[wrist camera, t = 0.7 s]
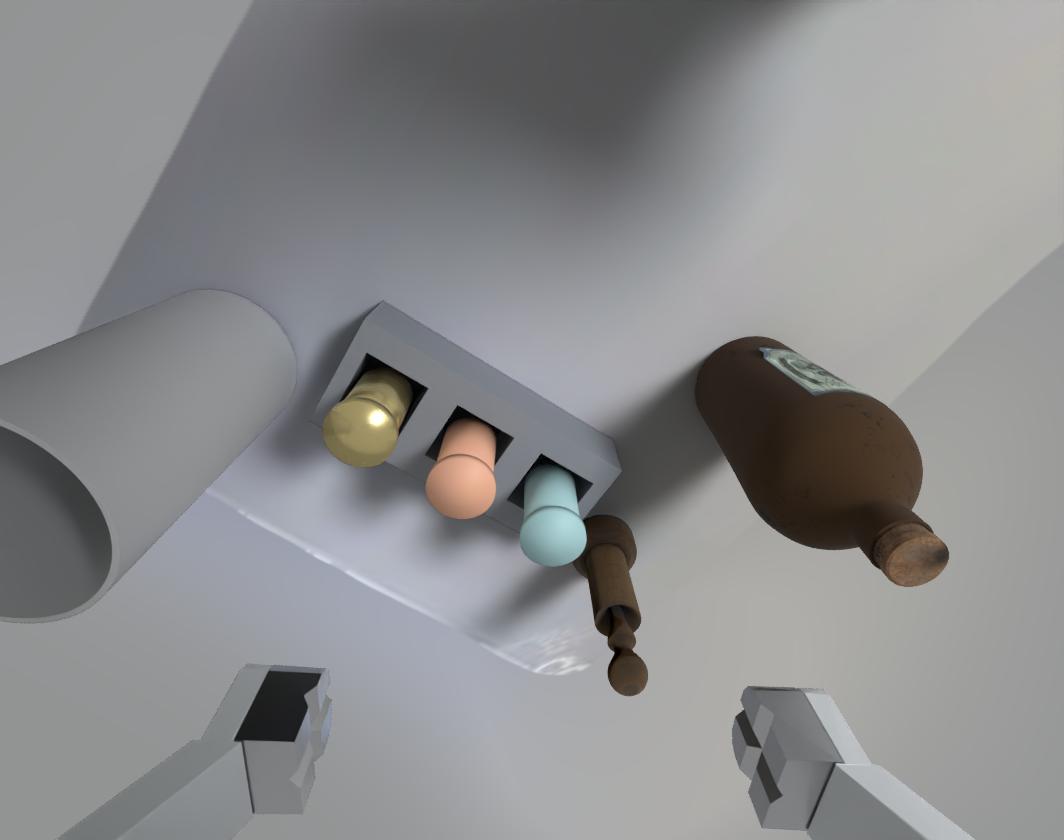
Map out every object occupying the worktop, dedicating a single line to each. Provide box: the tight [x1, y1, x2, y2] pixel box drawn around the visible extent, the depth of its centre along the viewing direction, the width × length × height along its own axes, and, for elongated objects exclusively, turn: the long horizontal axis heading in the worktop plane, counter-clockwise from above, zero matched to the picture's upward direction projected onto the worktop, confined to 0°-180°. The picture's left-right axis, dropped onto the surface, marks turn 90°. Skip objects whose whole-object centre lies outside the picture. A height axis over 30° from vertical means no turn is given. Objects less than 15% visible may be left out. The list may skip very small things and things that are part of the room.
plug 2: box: [426, 417, 497, 519], centre depth 45 cm, size 5×5×8 cm
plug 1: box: [323, 367, 412, 467], centre depth 43 cm, size 5×5×8 cm
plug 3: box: [520, 464, 587, 567], centre depth 47 cm, size 5×5×8 cm
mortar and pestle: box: [573, 515, 648, 696], centre depth 51 cm, size 7×6×18 cm
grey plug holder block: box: [309, 301, 622, 533], centre depth 50 cm, size 10×24×6 cm, turn 57°
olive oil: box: [695, 336, 949, 587], centre depth 41 cm, size 11×11×25 cm
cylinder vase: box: [0, 289, 297, 623], centre depth 39 cm, size 12×12×25 cm
